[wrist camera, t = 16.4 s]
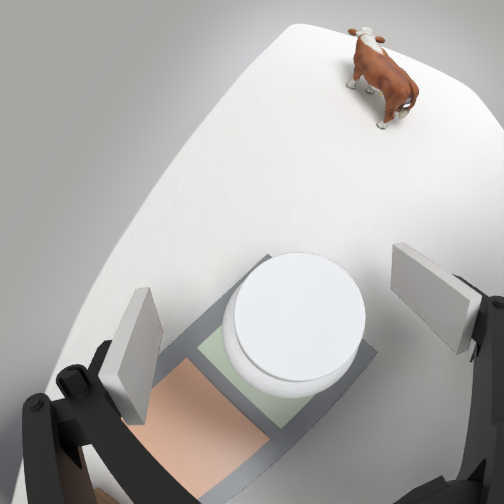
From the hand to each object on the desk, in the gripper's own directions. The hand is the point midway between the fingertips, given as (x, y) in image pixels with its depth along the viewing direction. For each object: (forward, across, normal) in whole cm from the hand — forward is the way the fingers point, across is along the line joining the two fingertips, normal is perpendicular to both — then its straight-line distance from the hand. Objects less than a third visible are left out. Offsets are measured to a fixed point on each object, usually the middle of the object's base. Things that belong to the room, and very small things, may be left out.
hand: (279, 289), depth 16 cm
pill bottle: (+3, 0, +6) cm, 7 cm away
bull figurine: (+22, -17, -11) cm, 30 cm away
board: (+2, +4, +9) cm, 10 cm away
